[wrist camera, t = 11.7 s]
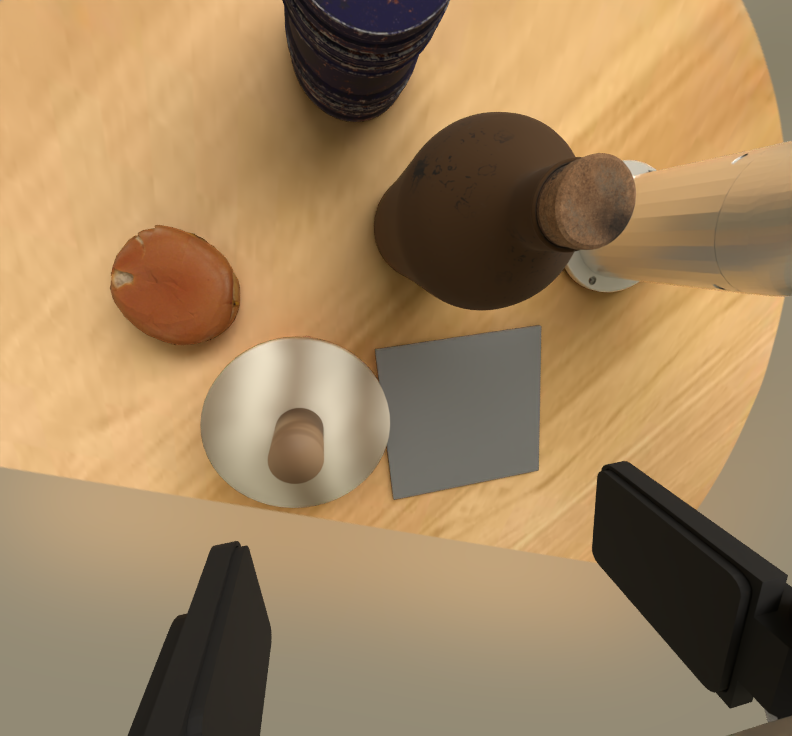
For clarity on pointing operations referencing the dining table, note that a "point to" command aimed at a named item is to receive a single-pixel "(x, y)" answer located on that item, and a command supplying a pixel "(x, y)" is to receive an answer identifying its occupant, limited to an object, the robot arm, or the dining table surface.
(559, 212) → the olive oil
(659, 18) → the dining table surface
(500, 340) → the mat
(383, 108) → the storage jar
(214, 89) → the dining table surface
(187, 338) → the burger
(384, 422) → the lid
